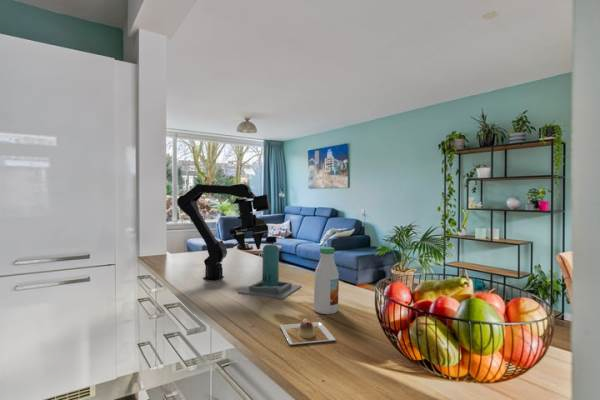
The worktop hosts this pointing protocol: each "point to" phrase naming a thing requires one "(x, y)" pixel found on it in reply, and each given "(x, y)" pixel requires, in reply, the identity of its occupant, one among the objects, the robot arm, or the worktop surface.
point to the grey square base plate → (271, 290)
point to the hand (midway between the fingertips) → (251, 249)
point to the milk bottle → (326, 283)
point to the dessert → (307, 331)
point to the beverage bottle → (270, 263)
